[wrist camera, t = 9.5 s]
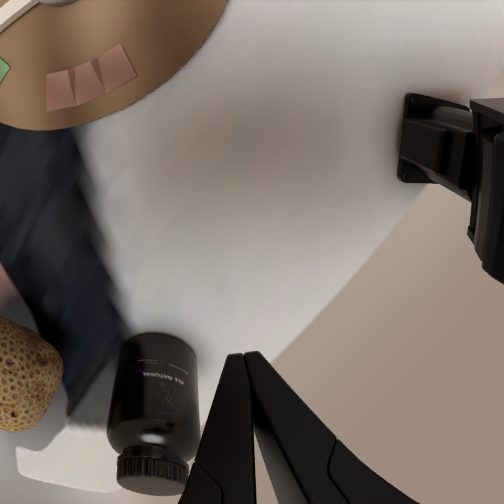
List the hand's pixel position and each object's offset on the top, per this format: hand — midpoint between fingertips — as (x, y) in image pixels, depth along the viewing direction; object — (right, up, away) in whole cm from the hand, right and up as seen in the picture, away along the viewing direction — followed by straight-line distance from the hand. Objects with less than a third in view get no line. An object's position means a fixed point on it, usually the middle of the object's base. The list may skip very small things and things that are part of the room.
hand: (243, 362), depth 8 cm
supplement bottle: (-8, -6, +17) cm, 20 cm away
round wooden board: (-10, +19, +3) cm, 21 cm away
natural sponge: (-20, -4, +14) cm, 24 cm away
